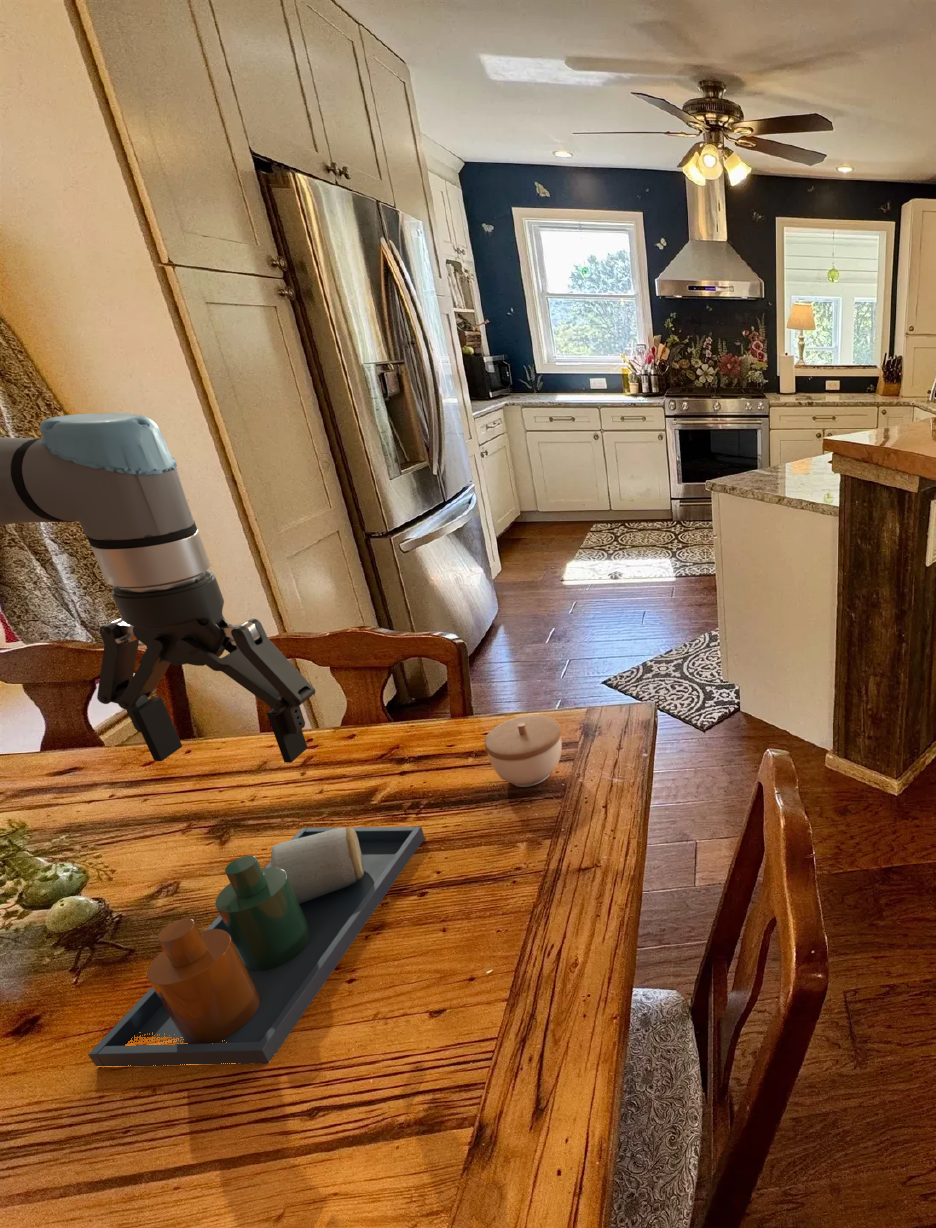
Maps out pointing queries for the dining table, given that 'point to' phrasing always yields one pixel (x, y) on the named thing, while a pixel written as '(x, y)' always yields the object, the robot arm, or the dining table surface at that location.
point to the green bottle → (262, 914)
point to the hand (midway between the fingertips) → (233, 754)
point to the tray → (282, 986)
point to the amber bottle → (202, 982)
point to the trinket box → (525, 749)
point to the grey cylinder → (320, 862)
